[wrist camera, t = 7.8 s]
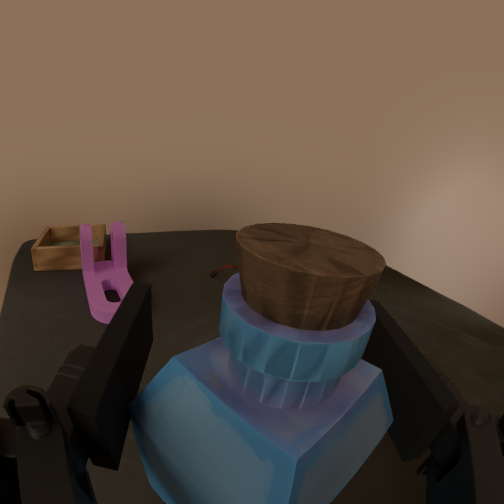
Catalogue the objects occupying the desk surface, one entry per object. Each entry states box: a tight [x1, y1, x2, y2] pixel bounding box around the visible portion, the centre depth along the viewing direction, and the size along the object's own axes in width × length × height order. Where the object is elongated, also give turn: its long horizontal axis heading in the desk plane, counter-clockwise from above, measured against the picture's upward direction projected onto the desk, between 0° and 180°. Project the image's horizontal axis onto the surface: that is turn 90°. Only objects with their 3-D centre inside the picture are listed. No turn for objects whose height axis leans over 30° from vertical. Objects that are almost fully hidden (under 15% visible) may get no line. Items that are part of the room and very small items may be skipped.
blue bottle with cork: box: [128, 223, 393, 504], centre depth 8 cm, size 6×6×12 cm
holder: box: [31, 224, 106, 271], centre depth 39 cm, size 11×11×3 cm
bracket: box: [79, 222, 134, 324], centre depth 31 cm, size 13×6×7 cm, turn 34°
